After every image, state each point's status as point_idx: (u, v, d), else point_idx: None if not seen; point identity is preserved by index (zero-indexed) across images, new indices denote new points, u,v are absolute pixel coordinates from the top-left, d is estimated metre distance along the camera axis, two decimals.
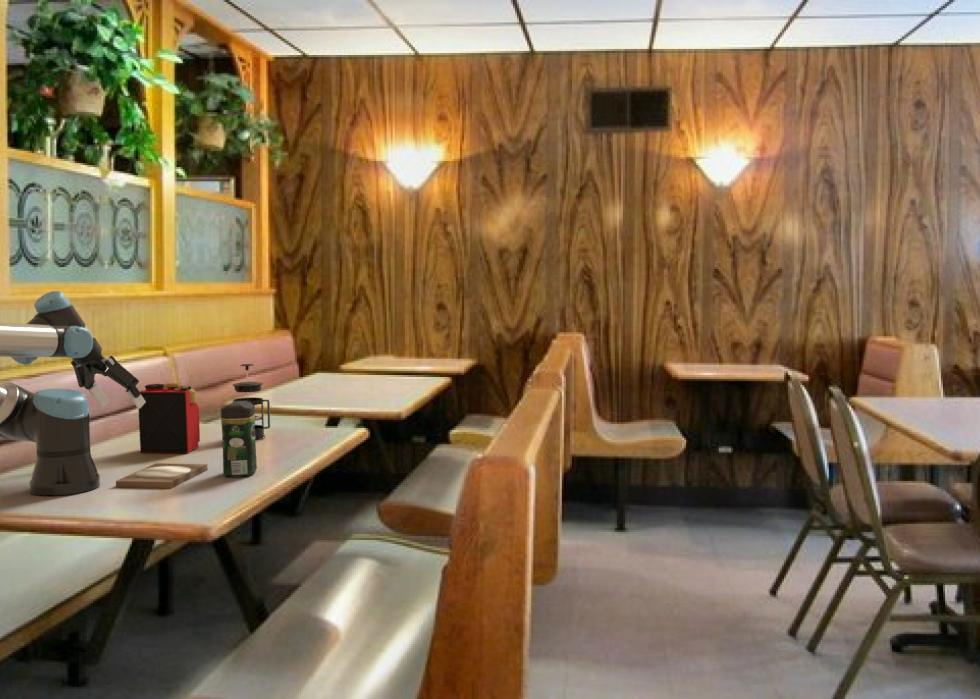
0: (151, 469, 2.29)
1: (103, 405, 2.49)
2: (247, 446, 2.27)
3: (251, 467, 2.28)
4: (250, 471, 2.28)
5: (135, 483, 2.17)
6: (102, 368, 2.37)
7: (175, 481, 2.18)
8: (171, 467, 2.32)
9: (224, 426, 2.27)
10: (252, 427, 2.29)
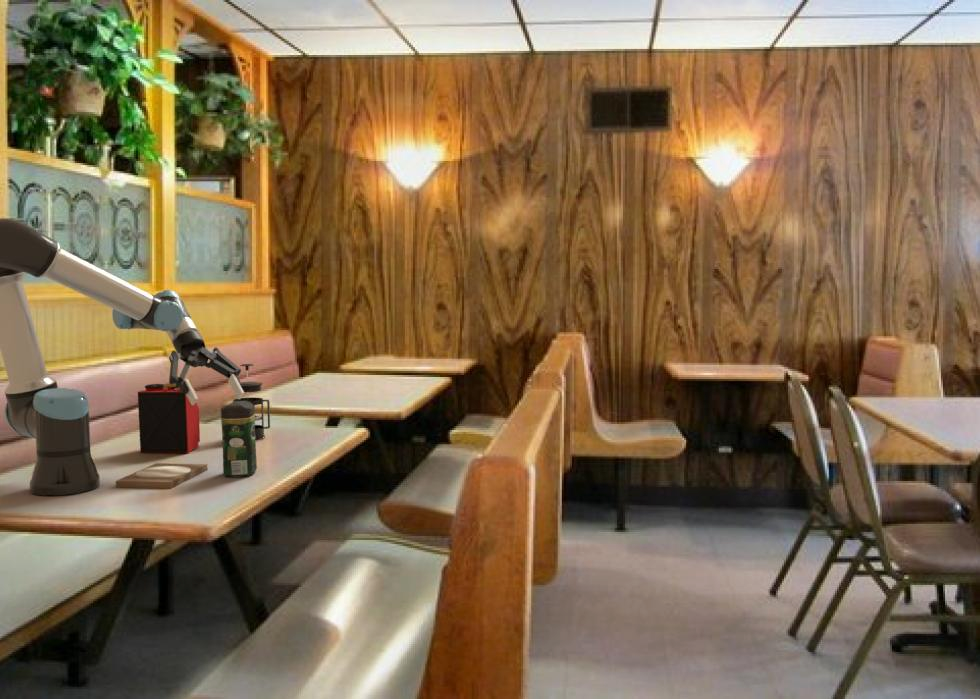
0: (151, 469, 2.29)
1: None
2: (247, 446, 2.27)
3: (251, 467, 2.28)
4: (250, 471, 2.28)
5: (135, 483, 2.17)
6: None
7: (175, 481, 2.18)
8: (171, 467, 2.32)
9: (224, 426, 2.27)
10: (252, 427, 2.29)
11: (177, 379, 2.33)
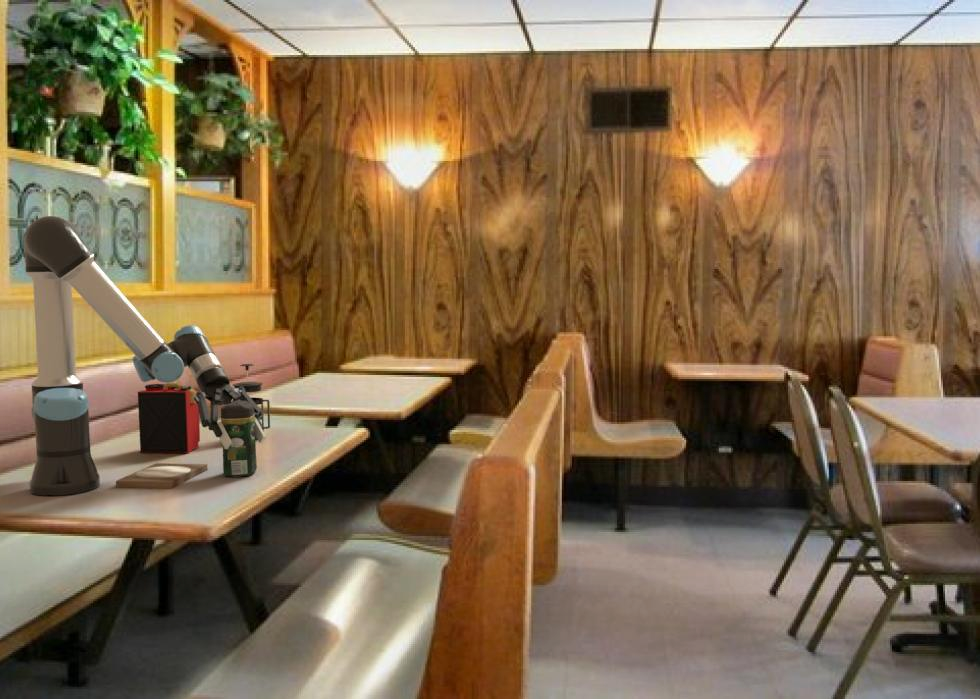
0: (151, 469, 2.29)
1: None
2: (247, 446, 2.27)
3: (251, 467, 2.28)
4: (250, 471, 2.28)
5: (135, 483, 2.17)
6: None
7: (175, 481, 2.18)
8: (171, 467, 2.32)
9: (224, 426, 2.27)
10: (252, 427, 2.29)
11: (210, 422, 2.26)
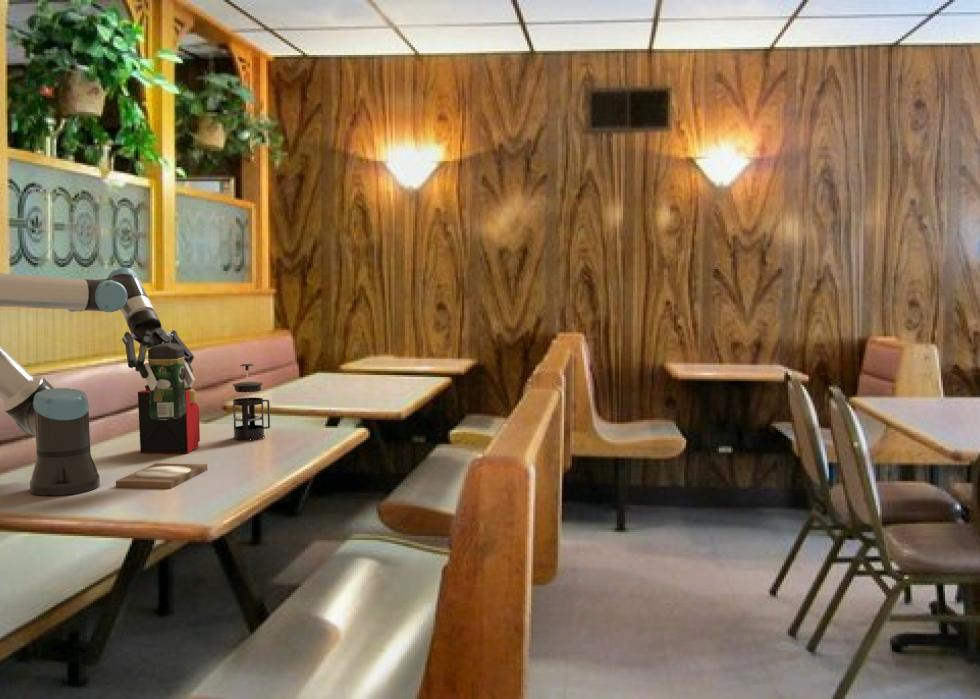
0: (151, 469, 2.29)
1: None
2: (174, 388, 2.22)
3: (178, 410, 2.23)
4: (177, 414, 2.23)
5: (135, 483, 2.17)
6: None
7: (175, 481, 2.18)
8: (171, 467, 2.32)
9: (151, 367, 2.22)
10: (180, 369, 2.24)
11: (136, 362, 2.21)
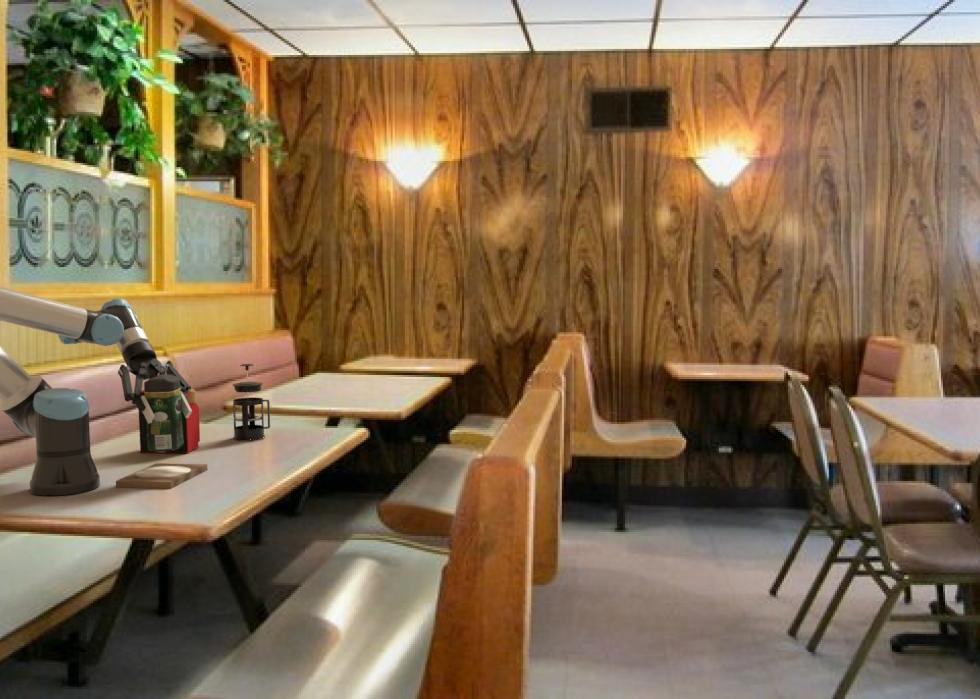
0: (151, 469, 2.29)
1: None
2: (171, 421, 2.23)
3: (175, 441, 2.24)
4: (175, 446, 2.24)
5: (135, 483, 2.17)
6: None
7: (175, 481, 2.18)
8: (171, 467, 2.32)
9: (147, 400, 2.22)
10: (177, 401, 2.25)
11: (133, 396, 2.22)
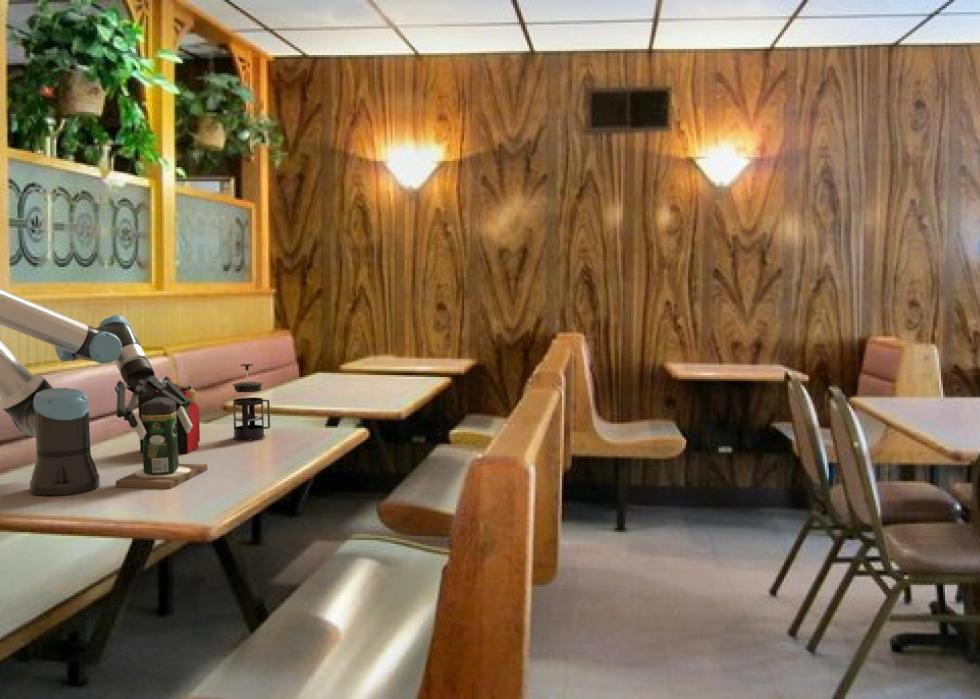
0: None
1: None
2: (168, 444, 2.23)
3: (172, 465, 2.24)
4: (171, 469, 2.24)
5: (135, 483, 2.17)
6: None
7: (175, 481, 2.18)
8: None
9: (144, 423, 2.22)
10: (173, 424, 2.25)
11: (125, 412, 2.21)
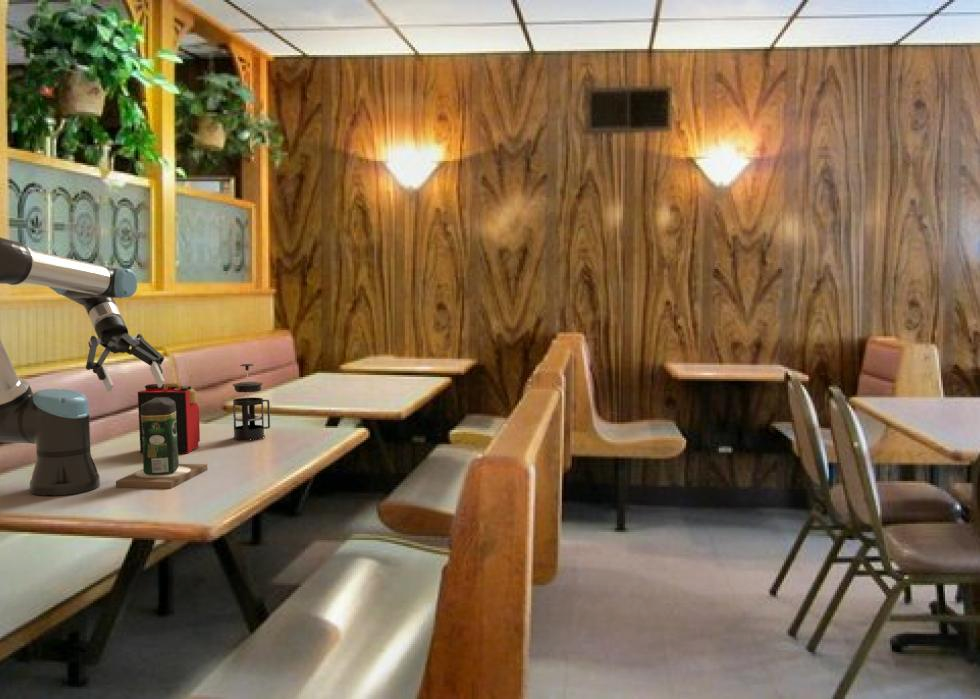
0: None
1: None
2: (168, 444, 2.23)
3: (172, 465, 2.24)
4: (171, 469, 2.24)
5: (135, 483, 2.17)
6: None
7: (175, 481, 2.18)
8: None
9: (144, 423, 2.22)
10: (173, 424, 2.25)
11: (94, 365, 2.28)
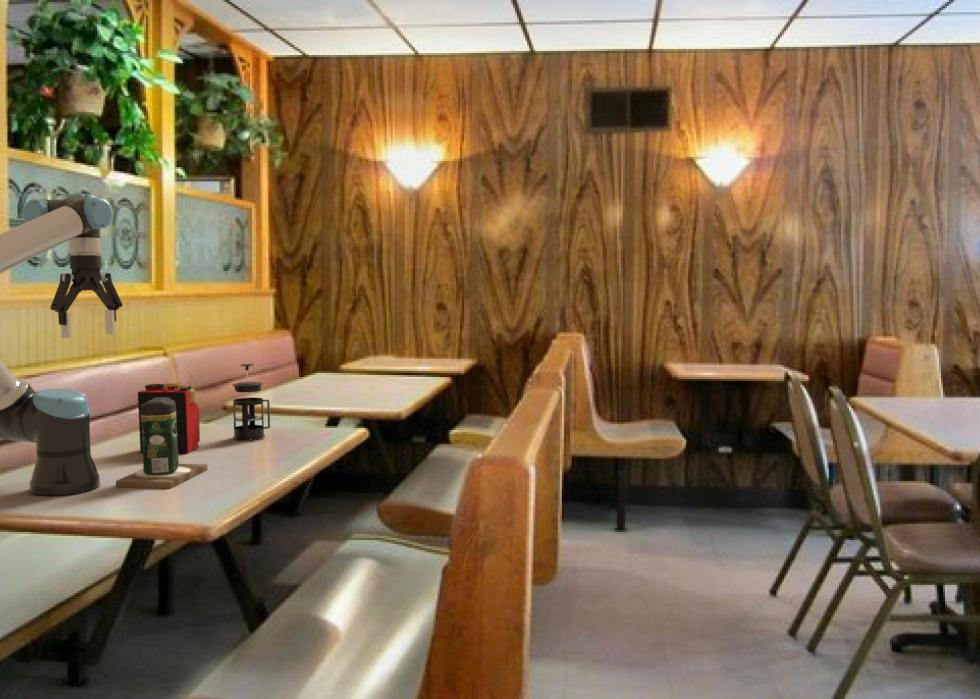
0: None
1: None
2: (168, 444, 2.23)
3: (172, 465, 2.24)
4: (171, 469, 2.24)
5: (135, 483, 2.17)
6: None
7: (175, 481, 2.18)
8: None
9: (144, 423, 2.22)
10: (173, 424, 2.25)
11: (60, 310, 2.29)
